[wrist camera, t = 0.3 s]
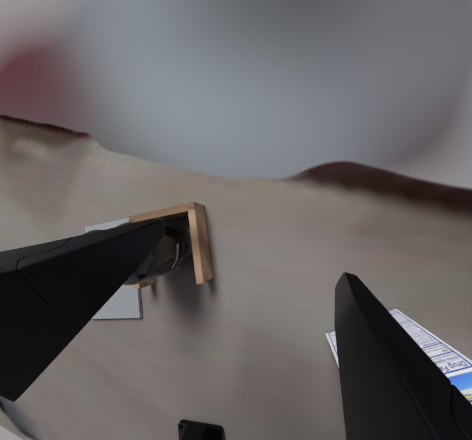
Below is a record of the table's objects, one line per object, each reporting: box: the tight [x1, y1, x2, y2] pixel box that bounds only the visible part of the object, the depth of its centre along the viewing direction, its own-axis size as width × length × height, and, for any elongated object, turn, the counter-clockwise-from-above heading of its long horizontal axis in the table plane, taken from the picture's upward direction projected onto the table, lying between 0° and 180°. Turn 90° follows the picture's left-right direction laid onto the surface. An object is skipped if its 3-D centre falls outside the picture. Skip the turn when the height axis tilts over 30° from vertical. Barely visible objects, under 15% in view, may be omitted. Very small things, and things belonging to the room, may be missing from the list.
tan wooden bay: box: [129, 202, 213, 289], centre depth 25 cm, size 10×11×3 cm
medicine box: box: [325, 309, 472, 404], centre depth 14 cm, size 8×4×9 cm, turn 117°
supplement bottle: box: [85, 222, 193, 285], centre depth 20 cm, size 7×7×12 cm
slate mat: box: [85, 218, 142, 319], centre depth 29 cm, size 16×11×1 cm
